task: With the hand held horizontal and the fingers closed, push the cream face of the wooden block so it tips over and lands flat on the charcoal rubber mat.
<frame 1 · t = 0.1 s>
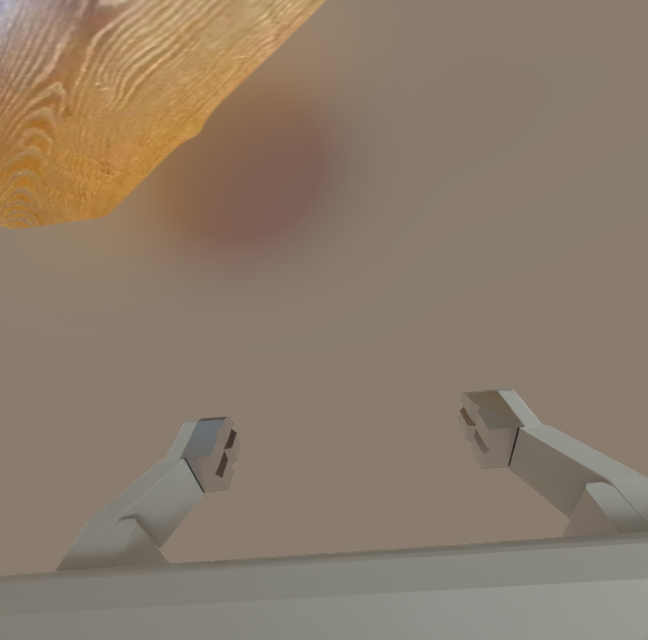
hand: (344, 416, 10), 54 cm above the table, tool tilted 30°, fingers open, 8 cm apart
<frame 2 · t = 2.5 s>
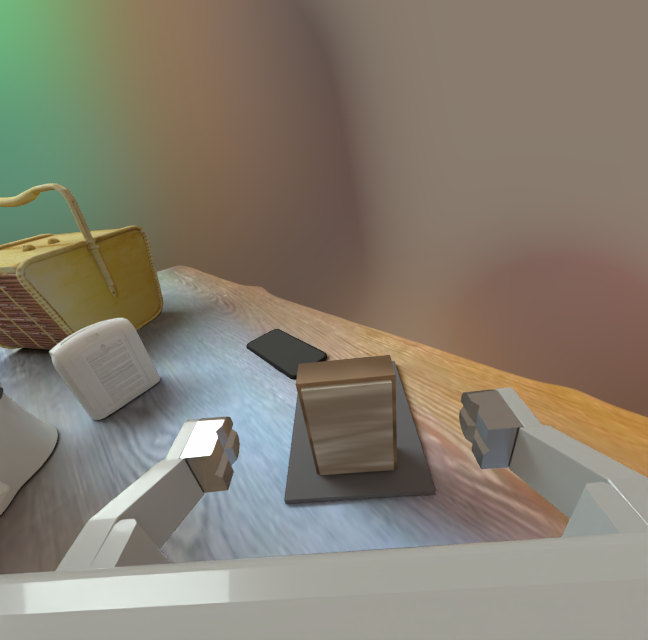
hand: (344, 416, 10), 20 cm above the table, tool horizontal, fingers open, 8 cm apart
smartphone: (285, 354, 51), on the table
mat: (351, 419, 36), on the table
wooden block: (355, 461, 30), point 1 cm above the table, touching mat
photo printer: (129, 397, 46), on the table
picnic basket: (93, 332, 68), on the table
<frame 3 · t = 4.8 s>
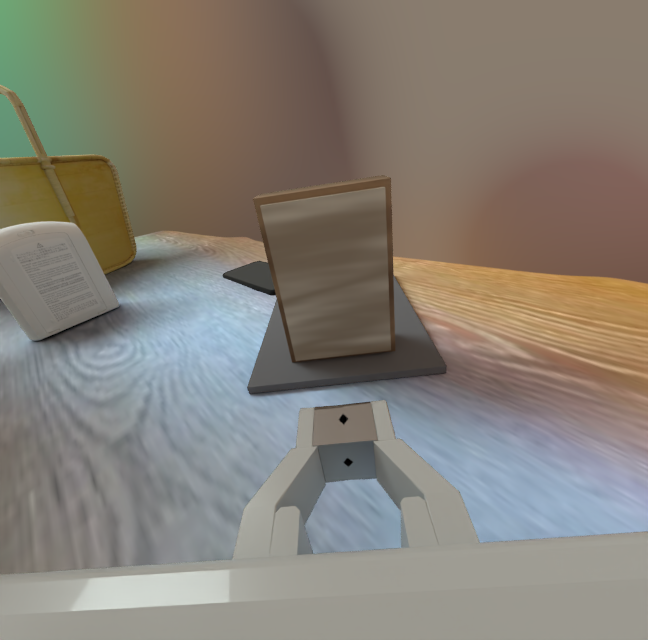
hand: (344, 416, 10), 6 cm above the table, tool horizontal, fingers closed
smartphone: (265, 280, 44), on the table
mat: (339, 319, 29), on the table
wooden block: (342, 348, 24), point 1 cm above the table, touching mat
photo printer: (80, 322, 39), on the table
picnic basket: (57, 280, 61), on the table
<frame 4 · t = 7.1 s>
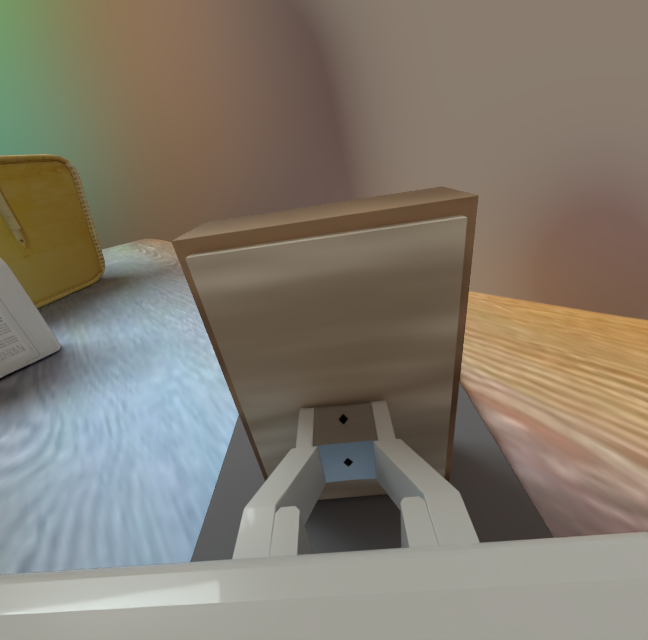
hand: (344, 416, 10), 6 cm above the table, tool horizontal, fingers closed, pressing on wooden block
mat: (348, 392, 20), on the table
wooden block: (356, 470, 14), point 1 cm above the table, touching gripper, mat
photo printer: (3, 374, 29), on the table
picnic basket: (9, 302, 52), on the table
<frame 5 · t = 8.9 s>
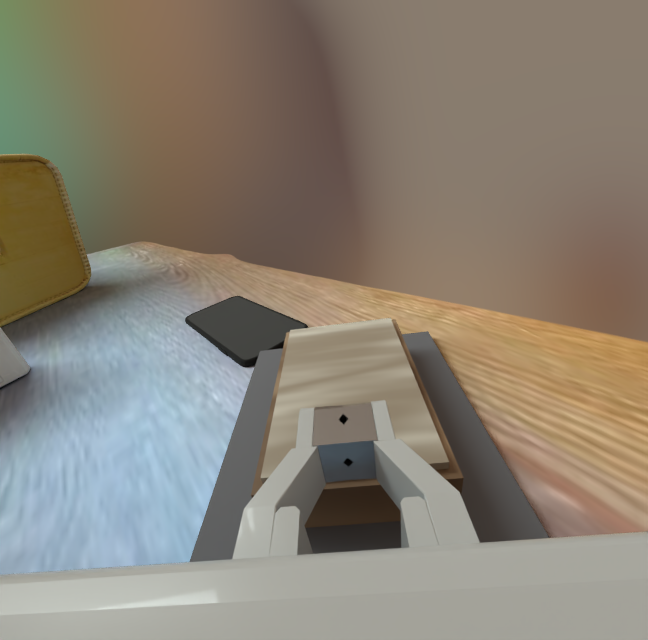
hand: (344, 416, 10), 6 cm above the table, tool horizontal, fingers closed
smartphone: (242, 329, 31), on the table
mat: (352, 443, 16), on the table
wooden block: (357, 503, 12), point 2 cm above the table, tilted 90°, touching mat
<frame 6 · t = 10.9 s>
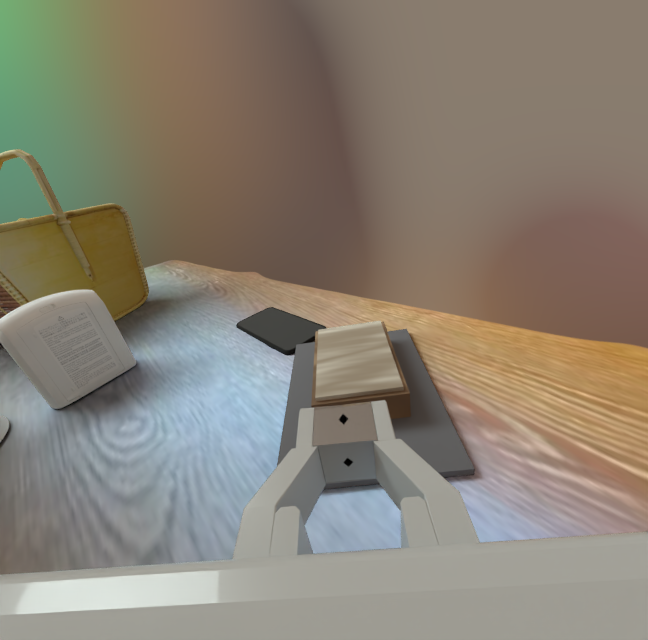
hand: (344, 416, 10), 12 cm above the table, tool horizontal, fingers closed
smartphone: (279, 331, 44), on the table
mat: (358, 392, 29), on the table
wooden block: (361, 409, 24), point 2 cm above the table, tilted 90°, touching mat
photo printer: (99, 383, 39), on the table
picnic basket: (72, 324, 62), on the table
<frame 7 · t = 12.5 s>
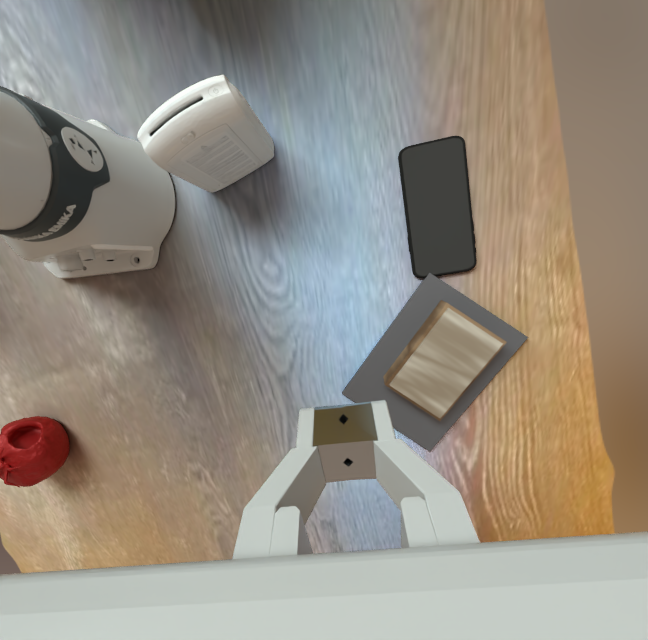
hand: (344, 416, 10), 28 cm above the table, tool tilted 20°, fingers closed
smartphone: (436, 211, 35), on the table
mat: (428, 365, 38), on the table
wooden block: (410, 398, 37), point 2 cm above the table, tilted 90°, touching mat
photo printer: (238, 162, 36), on the table
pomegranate: (53, 436, 48), on the table
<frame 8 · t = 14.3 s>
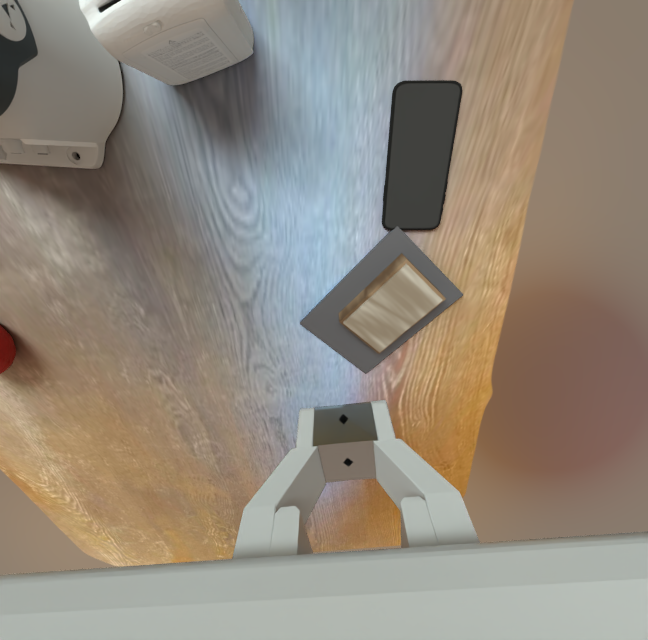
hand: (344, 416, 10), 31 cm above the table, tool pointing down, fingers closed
smartphone: (416, 162, 35), on the table
mat: (378, 307, 43), on the table
wooden block: (358, 334, 43), point 2 cm above the table, tilted 90°, touching mat
photo printer: (206, 49, 29), on the table
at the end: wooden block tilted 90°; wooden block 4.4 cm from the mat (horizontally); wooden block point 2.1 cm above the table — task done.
